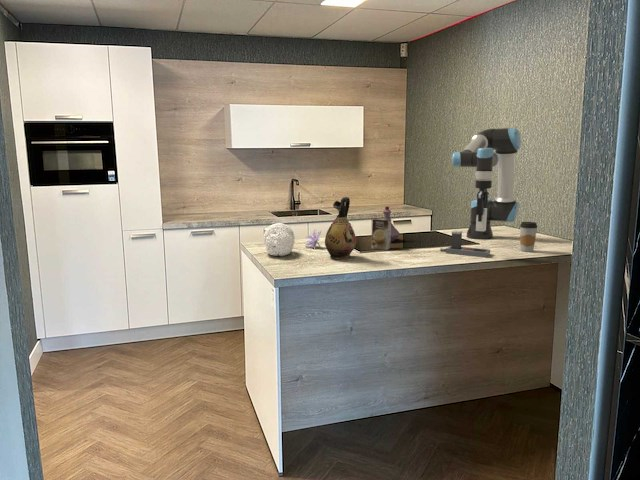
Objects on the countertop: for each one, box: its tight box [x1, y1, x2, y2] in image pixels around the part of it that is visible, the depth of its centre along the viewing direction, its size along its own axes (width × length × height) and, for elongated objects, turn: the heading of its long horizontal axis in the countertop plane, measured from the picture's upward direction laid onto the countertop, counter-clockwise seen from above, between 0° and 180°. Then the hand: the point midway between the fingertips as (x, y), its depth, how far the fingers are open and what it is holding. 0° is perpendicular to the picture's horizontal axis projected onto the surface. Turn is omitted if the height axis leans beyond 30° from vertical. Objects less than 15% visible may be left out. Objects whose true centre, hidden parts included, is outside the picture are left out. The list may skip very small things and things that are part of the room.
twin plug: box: [450, 230, 463, 249], centre depth 258 cm, size 4×4×11 cm
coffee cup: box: [519, 221, 538, 253], centre depth 264 cm, size 8×8×15 cm
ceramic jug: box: [324, 196, 357, 260], centre depth 250 cm, size 17×15×30 cm
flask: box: [382, 206, 401, 243], centre depth 295 cm, size 16×16×20 cm
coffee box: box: [371, 217, 392, 251], centre depth 272 cm, size 9×6×16 cm
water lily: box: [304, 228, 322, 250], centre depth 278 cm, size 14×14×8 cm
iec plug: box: [476, 208, 487, 231], centre depth 250 cm, size 4×4×11 cm
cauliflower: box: [262, 222, 296, 257], centre depth 259 cm, size 20×18×16 cm
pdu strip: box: [439, 245, 491, 259], centre depth 257 cm, size 9×24×4 cm, turn 59°
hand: (481, 227), depth 250 cm, fingers closed on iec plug, 4 cm apart
